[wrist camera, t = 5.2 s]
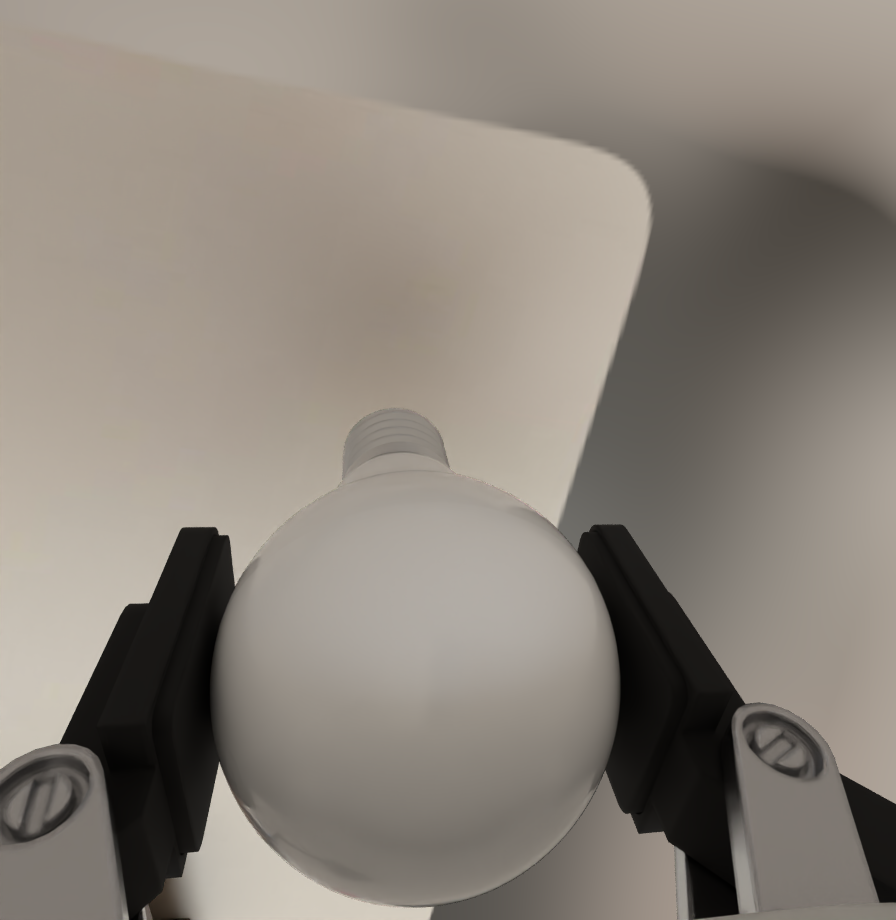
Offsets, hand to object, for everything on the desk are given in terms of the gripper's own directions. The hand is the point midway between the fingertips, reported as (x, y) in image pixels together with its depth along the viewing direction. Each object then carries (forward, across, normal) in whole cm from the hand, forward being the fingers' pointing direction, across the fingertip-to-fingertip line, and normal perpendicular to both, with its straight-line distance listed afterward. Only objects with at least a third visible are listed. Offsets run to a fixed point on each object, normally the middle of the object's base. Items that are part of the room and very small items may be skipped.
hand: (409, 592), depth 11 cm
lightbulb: (+6, 0, 0) cm, 6 cm away
